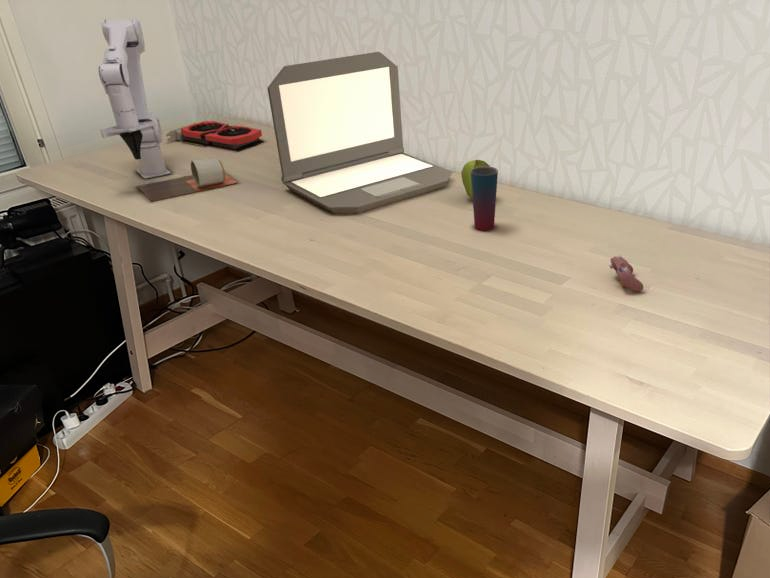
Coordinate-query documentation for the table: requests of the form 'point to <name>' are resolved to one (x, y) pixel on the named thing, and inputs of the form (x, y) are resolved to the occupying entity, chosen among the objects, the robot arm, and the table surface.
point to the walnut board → (178, 187)
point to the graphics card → (217, 135)
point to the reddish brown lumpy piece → (625, 274)
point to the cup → (484, 196)
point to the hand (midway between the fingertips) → (137, 158)
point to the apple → (467, 174)
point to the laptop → (346, 134)
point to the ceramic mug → (207, 171)
